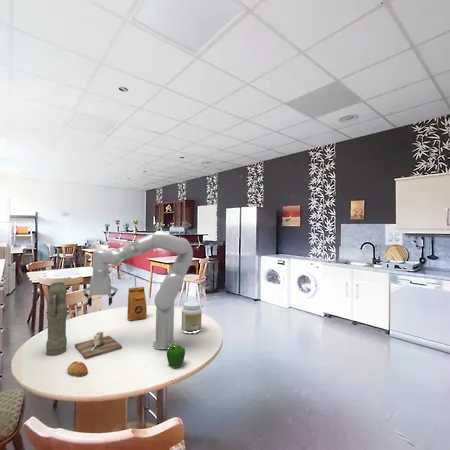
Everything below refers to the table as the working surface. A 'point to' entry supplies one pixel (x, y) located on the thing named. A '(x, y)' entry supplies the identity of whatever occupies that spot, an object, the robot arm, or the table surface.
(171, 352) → the bell pepper
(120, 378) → the table surface
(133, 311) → the coffee package
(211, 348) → the table surface
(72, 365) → the pastry
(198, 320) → the supplement tub
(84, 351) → the wooden board
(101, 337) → the knob
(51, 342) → the thermos
